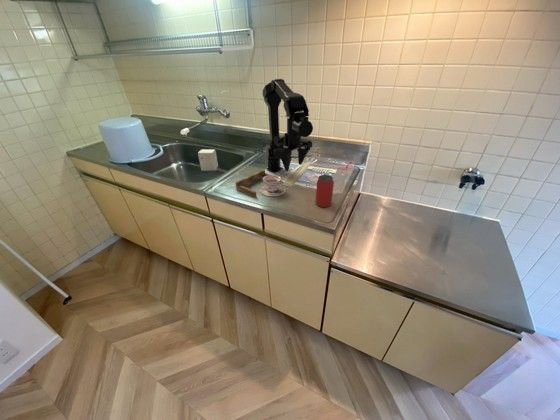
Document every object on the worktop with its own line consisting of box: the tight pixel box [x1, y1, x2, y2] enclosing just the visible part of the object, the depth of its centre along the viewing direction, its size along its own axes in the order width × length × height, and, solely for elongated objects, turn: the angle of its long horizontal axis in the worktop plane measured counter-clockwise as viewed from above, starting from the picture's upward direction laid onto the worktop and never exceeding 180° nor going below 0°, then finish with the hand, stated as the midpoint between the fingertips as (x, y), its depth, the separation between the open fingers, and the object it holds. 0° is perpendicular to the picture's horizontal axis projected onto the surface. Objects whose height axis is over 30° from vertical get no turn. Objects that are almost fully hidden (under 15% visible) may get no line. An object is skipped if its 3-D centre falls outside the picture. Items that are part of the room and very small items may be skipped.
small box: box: [197, 149, 219, 172], centre depth 132 cm, size 8×6×10 cm
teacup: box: [259, 174, 286, 197], centre depth 111 cm, size 12×12×6 cm
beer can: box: [315, 174, 335, 208], centre depth 99 cm, size 7×7×12 cm
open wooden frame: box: [235, 169, 283, 198], centre depth 116 cm, size 18×12×4 cm, turn 139°
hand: (293, 167), depth 105 cm, fingers open, 9 cm apart
